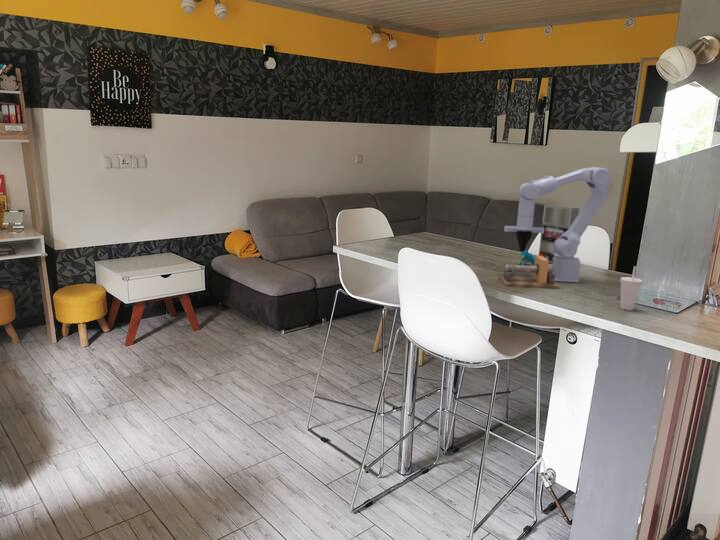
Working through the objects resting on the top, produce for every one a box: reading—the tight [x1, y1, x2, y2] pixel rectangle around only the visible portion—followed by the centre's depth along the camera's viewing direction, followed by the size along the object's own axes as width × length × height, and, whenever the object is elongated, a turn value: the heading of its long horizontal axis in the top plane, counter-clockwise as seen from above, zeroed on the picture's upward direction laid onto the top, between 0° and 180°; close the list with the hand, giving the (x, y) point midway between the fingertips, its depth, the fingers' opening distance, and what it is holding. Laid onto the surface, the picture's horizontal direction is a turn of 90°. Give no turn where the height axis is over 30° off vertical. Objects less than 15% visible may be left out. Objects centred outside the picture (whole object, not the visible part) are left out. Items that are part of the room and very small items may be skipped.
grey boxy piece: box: [538, 204, 580, 265], centre depth 241 cm, size 14×6×25 cm, turn 37°
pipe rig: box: [498, 264, 560, 290], centre depth 205 cm, size 19×12×7 cm, turn 88°
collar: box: [532, 255, 550, 284], centre depth 204 cm, size 2×9×9 cm, turn 178°
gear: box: [517, 249, 535, 266], centre depth 235 cm, size 11×6×10 cm
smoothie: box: [619, 265, 643, 311], centre depth 176 cm, size 6×6×14 cm
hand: (521, 251), depth 212 cm, fingers closed
